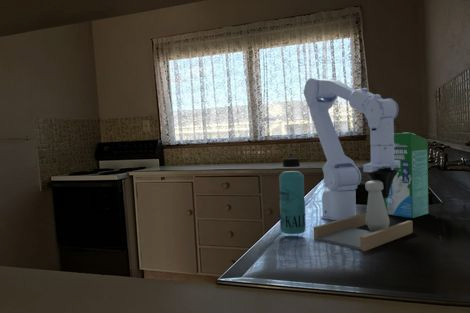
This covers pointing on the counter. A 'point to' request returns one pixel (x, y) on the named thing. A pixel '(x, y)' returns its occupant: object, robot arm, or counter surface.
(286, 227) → the beverage bottle
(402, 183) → the milk carton
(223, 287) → the counter surface
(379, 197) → the salt shaker
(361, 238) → the tan u-shaped piece
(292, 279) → the counter surface
